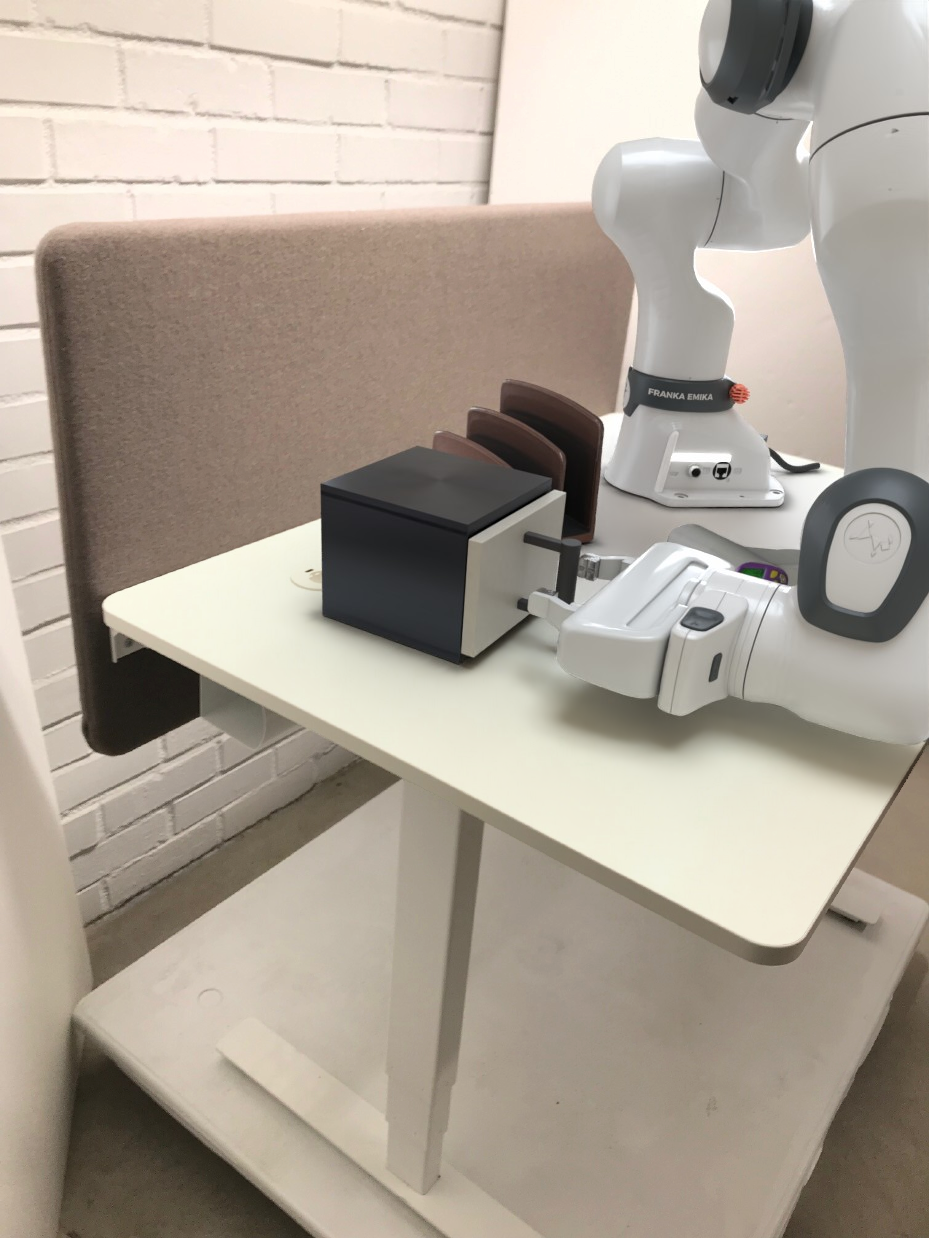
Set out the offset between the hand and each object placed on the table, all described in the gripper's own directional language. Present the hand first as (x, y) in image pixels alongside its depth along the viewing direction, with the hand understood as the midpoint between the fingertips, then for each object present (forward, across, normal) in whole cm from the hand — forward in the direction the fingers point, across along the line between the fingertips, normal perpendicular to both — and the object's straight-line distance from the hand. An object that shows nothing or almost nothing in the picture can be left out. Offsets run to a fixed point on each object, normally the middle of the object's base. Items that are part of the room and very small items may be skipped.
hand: (556, 580), depth 73 cm
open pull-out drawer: (+8, 0, +5) cm, 9 cm away
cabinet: (+12, 0, +6) cm, 13 cm away
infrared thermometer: (-10, -26, +6) cm, 29 cm away
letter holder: (+18, -24, +6) cm, 31 cm away
